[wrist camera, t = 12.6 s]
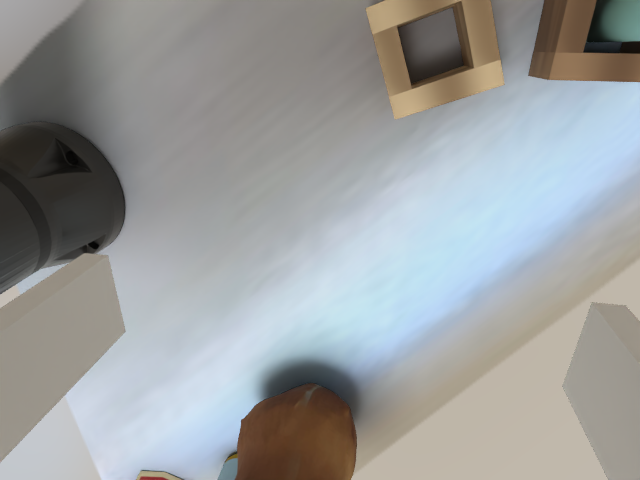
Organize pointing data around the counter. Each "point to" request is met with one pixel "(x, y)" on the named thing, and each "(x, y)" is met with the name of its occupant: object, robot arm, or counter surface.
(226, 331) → the counter surface
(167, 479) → the milk carton
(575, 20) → the brown wooden square frame
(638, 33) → the teal cylindrical rod
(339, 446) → the butternut squash
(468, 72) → the light wooden square frame
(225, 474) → the bottle
